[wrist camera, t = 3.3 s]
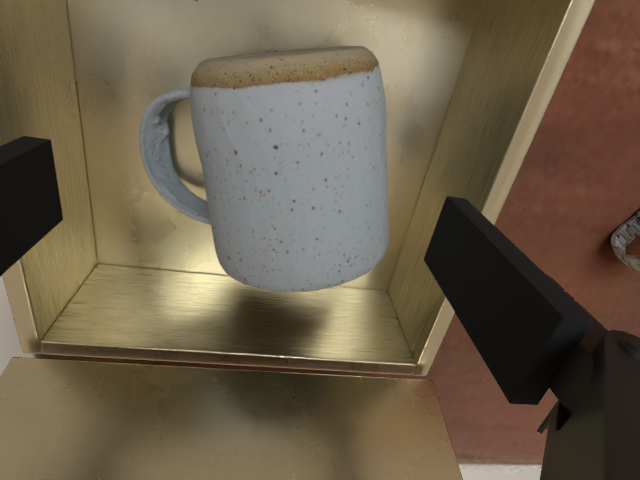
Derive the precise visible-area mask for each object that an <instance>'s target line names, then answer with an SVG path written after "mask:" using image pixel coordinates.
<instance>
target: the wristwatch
mask: <svg viewBox="0 0 640 480" xmlns="http://www.w3.org/2000/svg"><path fill="white" fill-rule="evenodd" d="M637 235H640V210H639V211H637V212H636V214H635V215H633V216H632V217H631V218H630V219H628V220H627V221H626V222H624V223H623V224H621V225H620V226H619V227H618V228H617V229H616V230H615V232H614V233H613V235H612V237H611V244H612V247H613V251H614V254H615V255H616V257H617V258H619V259H620V261H622V262H623V263H624V264H625V265H626V266H629V267H630V268H632V269H635V270H637V271H639V272H640V256H634V255H625V254H626V253H625V252H626V246H627V245H628V244H629V243H630V242H631V241H632V240H633V239H634V238H635V237H636V236H637Z"/></svg>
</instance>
